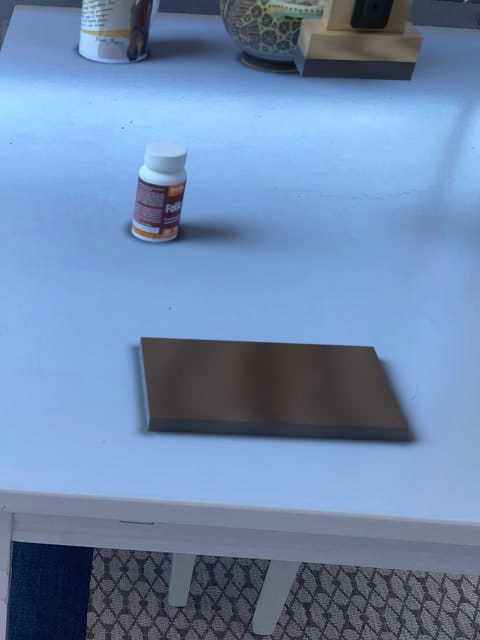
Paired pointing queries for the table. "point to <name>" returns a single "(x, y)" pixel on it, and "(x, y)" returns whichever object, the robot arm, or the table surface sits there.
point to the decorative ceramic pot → (268, 29)
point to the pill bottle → (160, 192)
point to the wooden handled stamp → (358, 45)
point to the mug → (116, 29)
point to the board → (268, 389)
